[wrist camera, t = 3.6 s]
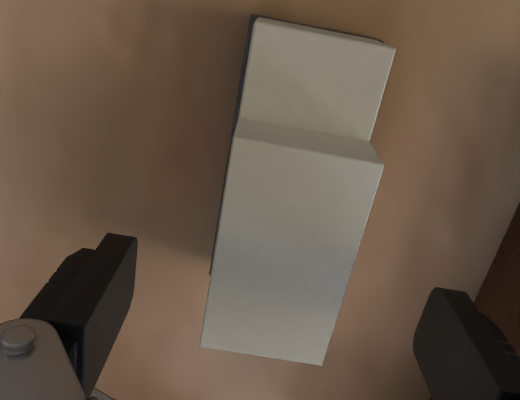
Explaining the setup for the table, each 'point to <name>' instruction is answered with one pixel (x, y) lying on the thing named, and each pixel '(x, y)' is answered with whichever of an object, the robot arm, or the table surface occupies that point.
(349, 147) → the white stepped block
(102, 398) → the white open shelf
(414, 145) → the table surface
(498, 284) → the step shelf
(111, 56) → the table surface
